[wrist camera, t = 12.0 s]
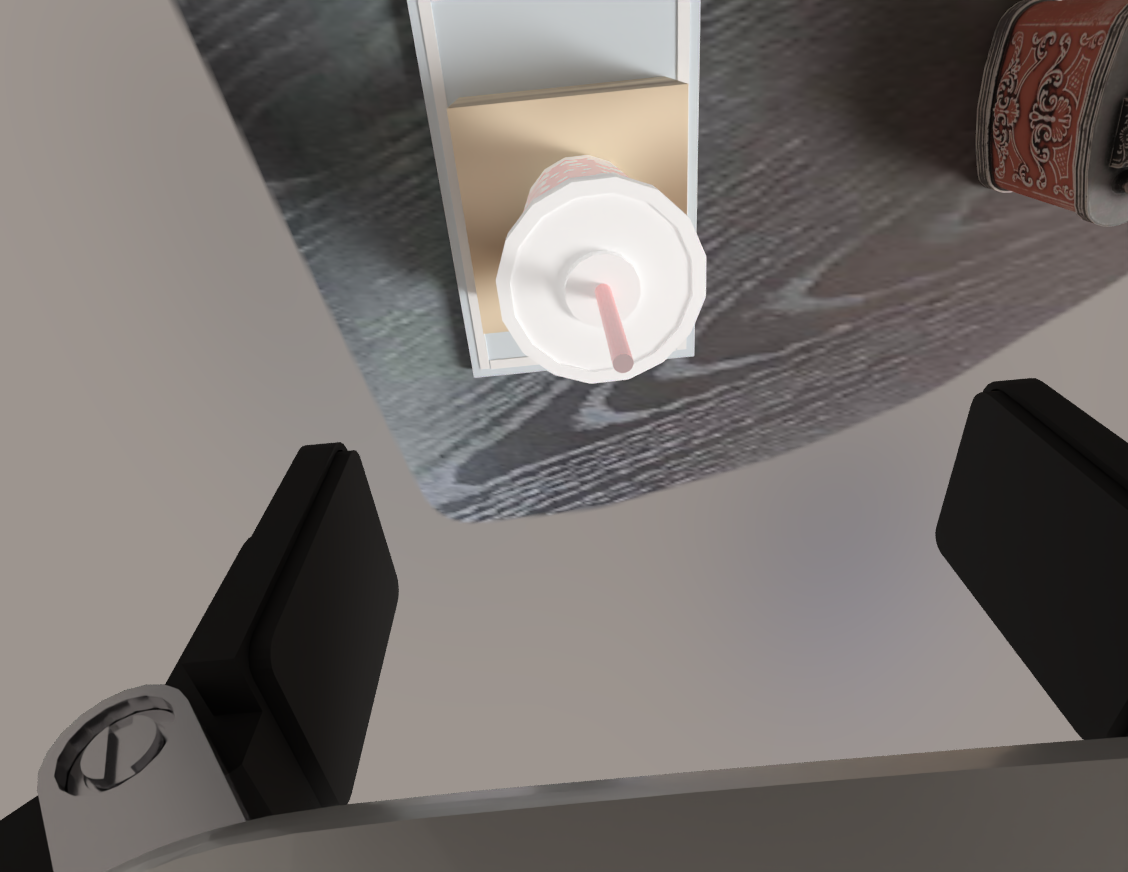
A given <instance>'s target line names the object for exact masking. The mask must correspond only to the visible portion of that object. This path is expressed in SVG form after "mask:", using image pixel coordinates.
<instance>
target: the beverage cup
mask: <svg viewBox="0 0 1128 872" xmlns="http://www.w3.org/2000/svg"><path fill="white" fill-rule="evenodd" d="M496 286H497V292H498V298H499V304H500V310H501V316H502V321H503V322H504V324H505V326H506V327H507V329H508V330H509V332H510V333H511V335H512V337H513V338H514V340H515V341H516V343H517V344H518V346H519V348H520V349H521V351H522V352H523V353H524V354H525V355H527V356H528V357H529V358H531V359H532V360H534V361H535V362H537V363H538V364H539V365H541V366H542V367H544V368H545V369H546V370H548V371H549V372H551V373H552V374H554V375H557V376H561V377H565V378H569V379H574V380H578V381H582V382H586V383H590V384H592V383H601V382H609V381H618V380H627V379H630V378H632V377H634V376H636V375H638V374H640V373H642V372H644V371H646V370H648V369H650V368H652V367H654V366H656V365H658V364H660V363H662V362H664V361H665V360H666V359H667V358H668V357H669V355H670V354H671V353H672V352H673V351H674V350H675V349H676V348H677V347H678V346H679V345H680V344H681V343H682V342H683V341H684V340H685V339H686V338H687V337H688V335H689V334H690V333H691V331H692V329H693V326H694V324H695V321H696V319H697V317H698V314H699V312H700V309H701V307H702V305H703V302H704V300H705V297H706V255H705V252H704V250H703V248H702V245H701V243H700V241H699V238H698V236H697V234H696V231H695V229H694V227H693V225H692V222H691V220H690V218H689V217H688V216H687V215H686V214H685V213H684V212H683V211H682V210H681V209H679V208H678V207H677V206H676V205H675V204H674V203H673V202H672V201H671V200H669V199H668V198H667V197H666V196H665V195H664V194H663V193H662V192H660V191H659V190H658V189H657V188H655V187H654V186H653V185H651V184H647V183H644V182H641V181H638V180H634V179H631V178H629V177H628V176H627V175H625V174H624V173H623V172H622V171H621V170H619V169H618V168H617V167H616V166H614V165H613V164H612V163H611V162H609V161H606V160H603V159H600V158H596V157H593V156H590V155H582V156H574V157H565V158H563V159H561V160H560V161H558V162H556V163H555V164H553V165H551V166H550V167H548V168H546V169H545V170H544V171H543V172H542V174H541V175H540V176H539V178H538V179H537V180H536V182H535V183H534V184H533V186H532V187H531V189H530V192H529V195H528V198H527V201H526V204H525V208H524V211H523V213H522V215H521V216H520V217H519V219H518V220H517V221H516V223H515V224H514V226H513V227H512V228H511V230H510V231H509V232H508V234H507V237H506V240H505V244H504V248H503V252H502V256H501V260H500V264H499V269H498V273H497V277H496Z"/></svg>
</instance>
